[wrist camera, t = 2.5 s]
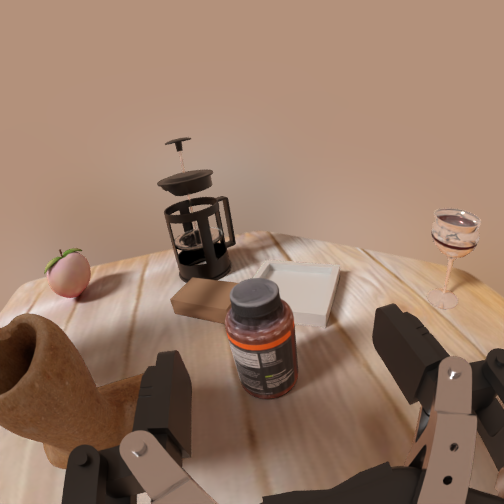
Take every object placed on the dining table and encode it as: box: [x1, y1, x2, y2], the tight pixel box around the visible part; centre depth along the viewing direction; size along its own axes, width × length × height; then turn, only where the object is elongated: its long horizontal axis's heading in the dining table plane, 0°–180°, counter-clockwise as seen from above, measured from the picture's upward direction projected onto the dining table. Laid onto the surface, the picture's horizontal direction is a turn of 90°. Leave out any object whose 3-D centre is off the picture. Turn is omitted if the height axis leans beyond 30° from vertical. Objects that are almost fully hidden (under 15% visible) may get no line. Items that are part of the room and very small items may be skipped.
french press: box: [157, 138, 236, 283], centre depth 46 cm, size 12×9×23 cm
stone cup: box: [0, 314, 144, 469], centre depth 18 cm, size 15×12×15 cm
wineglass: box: [427, 208, 481, 309], centre depth 31 cm, size 7×7×12 cm
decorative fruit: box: [44, 248, 91, 298], centre depth 46 cm, size 9×8×10 cm
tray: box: [253, 260, 340, 328], centre depth 40 cm, size 12×12×2 cm
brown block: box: [170, 277, 238, 324], centre depth 40 cm, size 9×6×2 cm, turn 67°
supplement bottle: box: [225, 278, 298, 399], centre depth 26 cm, size 6×6×11 cm
